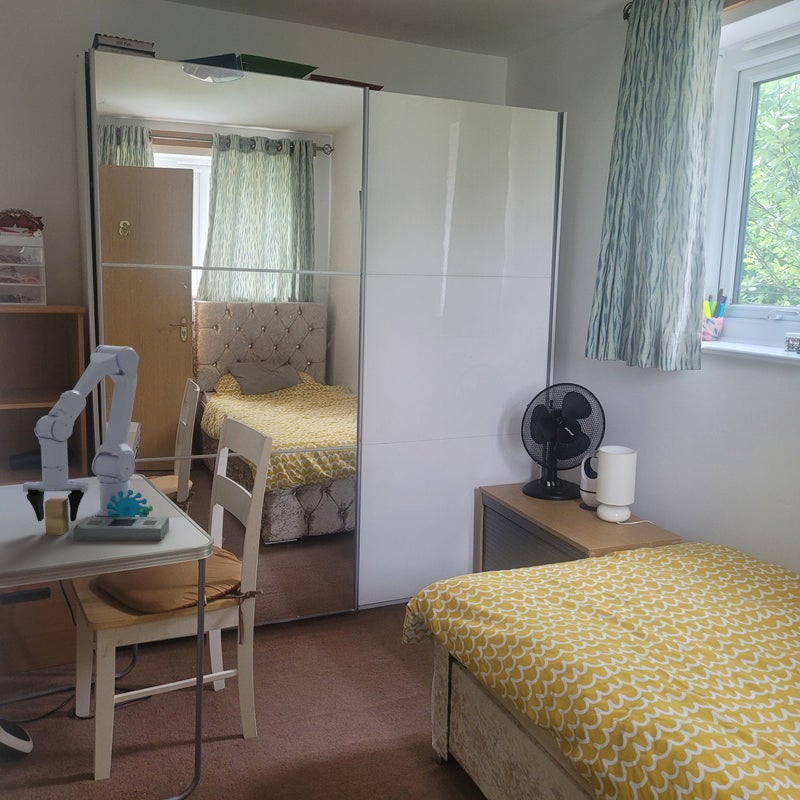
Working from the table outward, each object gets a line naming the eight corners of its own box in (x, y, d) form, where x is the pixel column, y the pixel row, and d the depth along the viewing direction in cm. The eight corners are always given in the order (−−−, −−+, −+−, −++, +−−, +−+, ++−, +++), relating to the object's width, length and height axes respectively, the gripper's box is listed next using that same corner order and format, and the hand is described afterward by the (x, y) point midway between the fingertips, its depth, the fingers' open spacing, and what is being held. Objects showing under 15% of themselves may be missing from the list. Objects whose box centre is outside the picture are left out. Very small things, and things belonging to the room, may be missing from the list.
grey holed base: (86, 528, 189) (85, 516, 188) (169, 528, 190) (168, 516, 190) (73, 540, 180) (73, 527, 179) (160, 540, 181) (160, 528, 181)
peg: (52, 529, 188) (50, 497, 186) (69, 529, 188) (67, 497, 187) (46, 534, 184) (44, 502, 182) (63, 534, 184) (61, 502, 183)
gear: (102, 521, 189) (110, 486, 195) (103, 532, 194) (110, 498, 200) (149, 525, 192) (155, 491, 198) (148, 536, 197) (154, 502, 203)
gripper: (16, 469, 179) (19, 525, 181) (80, 469, 180) (82, 525, 182) (28, 462, 186) (31, 516, 188) (90, 462, 187) (91, 516, 189)
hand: (57, 520), depth 185 cm, fingers open, 7 cm apart
